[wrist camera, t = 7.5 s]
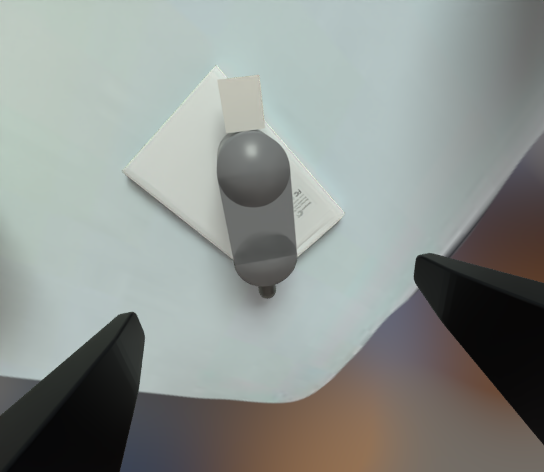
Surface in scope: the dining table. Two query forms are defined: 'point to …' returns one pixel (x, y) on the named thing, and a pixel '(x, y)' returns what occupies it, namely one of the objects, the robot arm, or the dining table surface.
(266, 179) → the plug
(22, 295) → the dining table surface
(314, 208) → the external hard drive
